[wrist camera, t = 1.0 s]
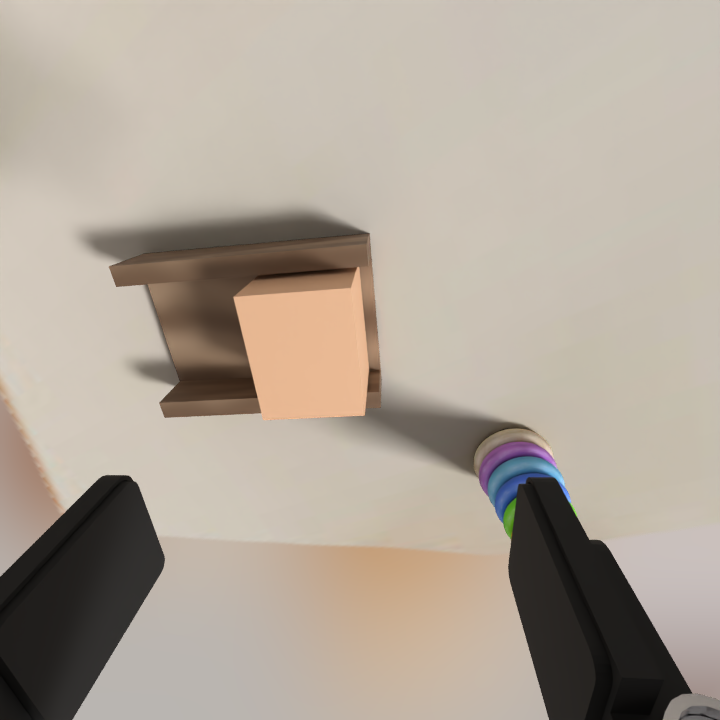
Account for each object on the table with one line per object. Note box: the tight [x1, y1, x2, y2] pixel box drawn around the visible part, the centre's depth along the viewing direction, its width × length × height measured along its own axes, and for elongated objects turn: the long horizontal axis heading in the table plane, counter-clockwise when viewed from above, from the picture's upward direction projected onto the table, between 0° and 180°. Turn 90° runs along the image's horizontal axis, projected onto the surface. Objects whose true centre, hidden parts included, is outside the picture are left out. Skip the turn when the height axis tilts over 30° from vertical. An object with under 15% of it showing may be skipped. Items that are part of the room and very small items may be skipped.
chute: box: [109, 233, 381, 418], centre depth 35 cm, size 14×20×5 cm
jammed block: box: [233, 267, 369, 420], centre depth 32 cm, size 10×8×8 cm
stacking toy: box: [474, 428, 577, 540], centre depth 34 cm, size 8×8×19 cm
